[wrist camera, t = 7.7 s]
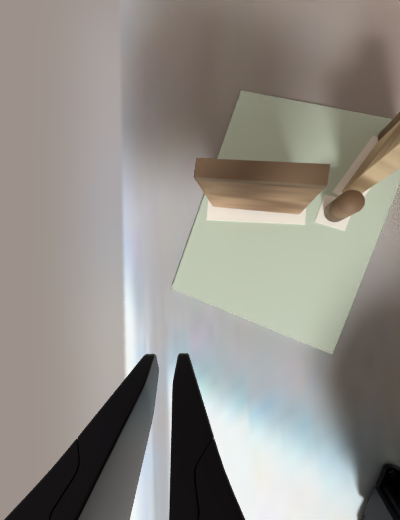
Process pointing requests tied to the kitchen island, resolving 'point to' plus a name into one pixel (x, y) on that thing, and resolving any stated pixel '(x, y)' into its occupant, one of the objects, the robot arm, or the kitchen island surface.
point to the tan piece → (368, 173)
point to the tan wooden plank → (261, 184)
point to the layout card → (290, 224)
